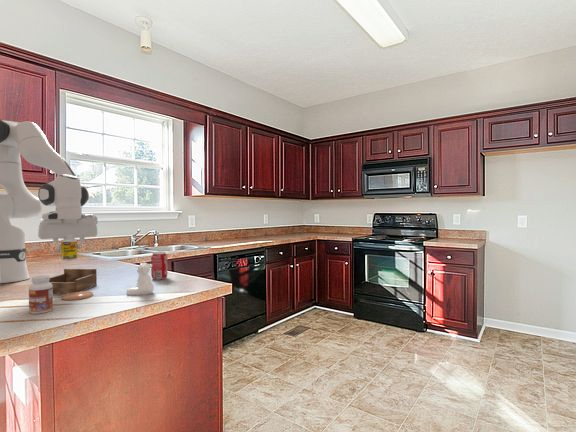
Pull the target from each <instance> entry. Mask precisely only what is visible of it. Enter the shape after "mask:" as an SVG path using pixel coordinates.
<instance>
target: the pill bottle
mask: <svg viewBox="0 0 576 432" xmlns="http://www.w3.org/2000/svg"><path fill="white" fill-rule="evenodd" d="M50 278H51V276H50V275H35V276H32V277H31V284H30V285H29V287H28V311H29V314H33V315H38V314H44V313H49V312H52V310H53V309H54V307H53V306H54V305H53V304H54V299H53V297H54V295H53V294H54V293H53V285H52V284H51V283H50V282H49V281H50Z"/></svg>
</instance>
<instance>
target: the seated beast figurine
mask: <svg viewBox="0 0 576 432" xmlns="http://www.w3.org/2000/svg"><path fill="white" fill-rule="evenodd" d="M151 267H152V264H151V263H150V264H149V263H147V262H141V263H140V264H139V266H138V267H137V271H136V272H137V273H138V278H137V283H136V287H130V288H129V289H127V290H126V291H125V292H126V295H127V296H147V295H150V294H152V293H153V292H154V289H155V285H154V284H153V282H152V277H151V276H150V275H149V272H150V271H151Z"/></svg>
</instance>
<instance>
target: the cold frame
mask: <svg viewBox="0 0 576 432" xmlns="http://www.w3.org/2000/svg"><path fill="white" fill-rule="evenodd" d="M97 278H98V277H97V268H63V274H58V275H55V276H52V277H51V276H50V281H49V282H50V283H51V284H52V285H53V294H68V293H73V292H82V291H85V290H86V291H87V290H88V289H90V288H91V289H92V288H93V287H95V286H98V284H97V283H98V282H97Z"/></svg>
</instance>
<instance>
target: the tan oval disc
mask: <svg viewBox="0 0 576 432" xmlns="http://www.w3.org/2000/svg"><path fill="white" fill-rule="evenodd" d="M93 296H94V292H93V291H87V290H86V291H85V290H83V291H80V292H73V293H64V294H62V295H61V300H63V301H79V300H85V299H89V298H91V297H93Z"/></svg>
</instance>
